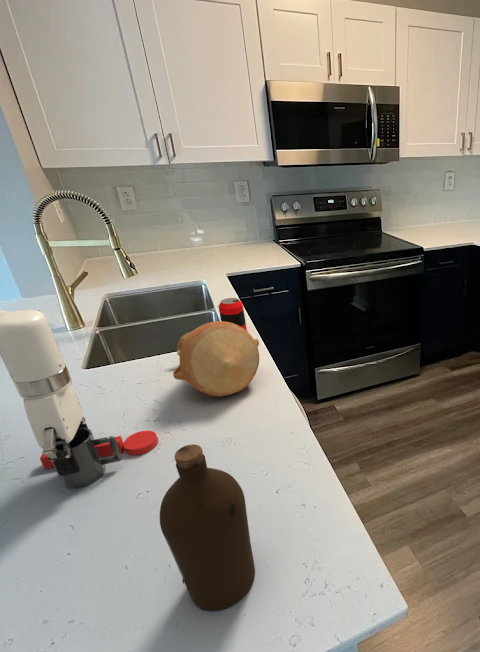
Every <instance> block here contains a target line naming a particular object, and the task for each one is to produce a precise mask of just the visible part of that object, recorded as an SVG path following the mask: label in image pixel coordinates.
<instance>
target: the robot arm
mask: <svg viewBox="0 0 480 652" xmlns="http://www.w3.org/2000/svg"><path fill="white" fill-rule="evenodd" d="M0 357H1V360H2V361H3V364H4V366H5V368H6V370H7V372H8V374H9V376H10V378H11V380H12V382H13V384H14V387H15V388H16V391H17V392H18V395H19V397H20V398H21V399H23V405H24V410H25V414H26V417H27V421H28V423H29V425H30V428H31V431H32V433H33V436H34V438H35V440H36V443H37V444H38V447H39V448H40V449H42V453H44V455H46V456H47V458H48V459H49V460H51V461H53V463H54V465H55V467H56V469H57V471H58V473H57V475H58V474H59V475H60V476H64V475H69V474H73V473H78V472H79V471H80V467H79V465H78V462H77V460H76V458H75V456H74V453H73V454H71V452H70V441H71V440H72V439H73V438H74V436H75V434H76V432H77V429H78V428H87V429H89V426H88V425H87V423H86V418H85V417H84V416H83V415H84V412H83V408H82V405H81V403H80V401H79V398H78V396H77V394H76V392H75V390H74V388H73V386H72V383H73V381H72V380H73V379H72V377H71V375H70V372H69V369H68V367H67V365H66V362H65V360H64V358H63V355H62V353H61V350H60V347H59V345H58V343H57V340H56V338H55V335H54V332H53V330H52V328H51V324H50V322H49V320H48V317H46V315H45V314H43V312H41V311H39V310H35V309H21V310H15V311H11V310H10V311H9V310H2V309H0ZM57 438H61V439H64V440H63V441H58V442H56V439H57ZM58 445H64V451H57V449H56V447H55V446H58ZM55 467H54V468H55ZM56 469H55V470H56ZM57 471H56V472H57ZM59 475H58V476H59Z"/></svg>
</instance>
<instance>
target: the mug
mask: <svg viewBox="0 0 480 652" xmlns="http://www.w3.org/2000/svg"><path fill="white" fill-rule="evenodd" d="M115 437H116V436H113V435H110V436H105V437H101V438H96V439H95V437H94V434H93V432H92V429H90V428H88V429H87V428H78V429H77V432H76V434H75V436H74V438H73V439H72V440H71V441H70V452H71V454H73V453H74V456H75V458H76V460H77V462H78V465H79V467H80V471H79V472H78V473H73V474H69V475H64V476H60V475H59V474H58V471H57V469H56V467H55V465H54V463H53V461H52V463H53V465H54V467H53V468H54V469H55V472H56V473H57V476H58V477H59V479H60V481H61V483H62V485H63V486H64V488H67V489H71V490H77V489H82V488H86V487H87V486H90V485H92V484H94V483H96V482H97V481H98V480H99V479H101V478H102V477H103V476H104V474H105V472H106V469H107V468H106V465H108V464H113V463H118V462H121V461H122V460H123V456H122V453H120V450H119V447H118V445H117V442H116V439H115ZM63 440H64V439H61V438H57V439H56V442H58V441H63ZM104 443H110V445H111V448H112V451H113V453H114V456H111V457H106V458H103V457H101V454H100V452H99V449H98V447H97V445H99V444H104ZM55 447H56V449H57V451H64V445H58V446H55Z"/></svg>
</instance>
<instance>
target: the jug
mask: <svg viewBox="0 0 480 652" xmlns="http://www.w3.org/2000/svg"><path fill="white" fill-rule="evenodd" d="M177 342H178V343H177V350H176V355H178V356H179V365H178V366H177V368H176V369H174V371H173V373H172V376H173V379H175V380H178V381H179V380H180V381H184V382H187V383H188V384H189V385H190V386H191V387H193V388H194V389H196V390H197V391H199V392H201V393H203V394H205V395H207V396H213V397H226V396H231V395H233V394H236V393H238V392H240V391H242V390H244V389H245V388H246V387H247V386H248V385H249V384H250V383H251V382H252V380H253V379H254V378H255V376H256V374H257V372H258V368H259V366H260V365H259V364H260V351H259V345H260V341H259V338H254V337H253V336H252V335H251V334H250V332H249V331H248V330H247V331H246V330H245V329H243V328H242V327H240V326H238V325H236V324H234V323H230V322H224V321H221V320H218V321H210V322H206V323H204V324H201V325H200V326H198V327H196V328H195V329H193V330H192V331H189V332H187V333H185V334H183V335H182V336H181V337H180V338H179V340H178V341H177Z"/></svg>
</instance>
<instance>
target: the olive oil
mask: <svg viewBox="0 0 480 652" xmlns="http://www.w3.org/2000/svg"><path fill="white" fill-rule="evenodd" d="M174 460H175V467H176V470H177V473H178V476H179V477H178V478H177V479H176V480H175V481H174V482H173V483H172V485H171V486H170V487H168V490H167V491H166V492H165V493H164V495H163V498H162V501H161V502H160V503H161V504H160V509H159V525H160V530H161V532H162V535H163V537H164V539H165V542H166V544H167V546H168V548H169V550H170V552H171V555H172V557H173V559H174V561H175V564H176V566H177V569H178V571H179V574H180V575H181V580H182V581H181V582H182V584H183V585H184V586H183V587H184V588H186V590H187V592H188V594H189V597H190V599H191V601H192V603H193V604H194V605H195V606H196V607H197V608H199V609H201V610H204V611H208V612H216V611H221V610H225V609H228V608H230V607H232V606H234V605H235V604H237V603H238V602H239V601H241V600H242V599H243V598H244V597H245V596H246V595H247V594H248V592H249V591H250V589H251V588H252V586H253V583H254V580H255V577H256V567H255V559H254V554H253V549H252V543H251V536H250V535H251V534H250V529H249V521H248V513H247V506H246V505H247V503H246V498H245V493H244V491H243V489H242V486H241V485H240V484H239V482H238V481H237V480H236V478H234V476H233V475H231V474H230V473H228V472H226V471H224V470H221V469H217V468H212V467H208V464H207V459H206V455H205V454H204V451H203V449H202V446H201V445H199V444H194V443H193V444H187V445H184V446H182V447H180V448H179V449H178V450H176V451H175V453H174ZM185 586H186V587H185Z"/></svg>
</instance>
